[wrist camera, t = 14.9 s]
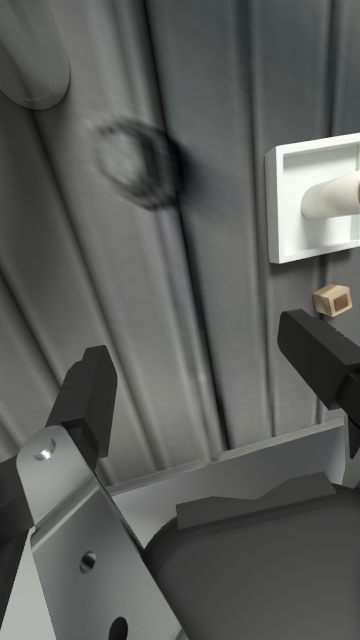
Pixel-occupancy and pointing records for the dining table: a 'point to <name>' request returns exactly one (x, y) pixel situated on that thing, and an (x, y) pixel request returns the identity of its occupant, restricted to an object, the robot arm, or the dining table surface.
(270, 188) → the tray
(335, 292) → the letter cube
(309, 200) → the canister
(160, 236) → the dining table surface
